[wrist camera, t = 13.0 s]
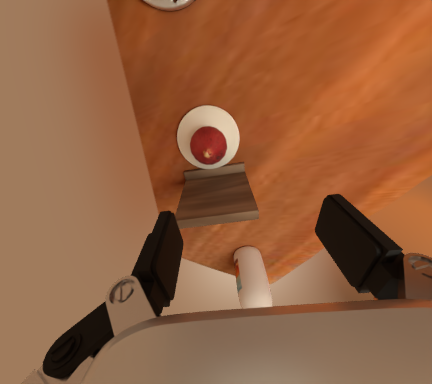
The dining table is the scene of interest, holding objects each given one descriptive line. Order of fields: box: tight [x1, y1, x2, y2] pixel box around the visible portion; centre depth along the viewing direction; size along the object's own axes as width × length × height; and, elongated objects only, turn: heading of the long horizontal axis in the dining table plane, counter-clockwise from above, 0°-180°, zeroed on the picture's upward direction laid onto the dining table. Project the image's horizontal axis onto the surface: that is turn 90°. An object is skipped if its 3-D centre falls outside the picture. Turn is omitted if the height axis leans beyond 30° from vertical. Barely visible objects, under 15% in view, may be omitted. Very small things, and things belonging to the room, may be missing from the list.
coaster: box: [177, 105, 239, 169], centre depth 30 cm, size 11×11×1 cm
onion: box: [190, 126, 227, 165], centre depth 26 cm, size 6×6×8 cm
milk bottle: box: [234, 246, 272, 309], centre depth 40 cm, size 8×8×20 cm
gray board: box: [175, 162, 259, 229], centre depth 29 cm, size 5×12×13 cm, turn 99°
